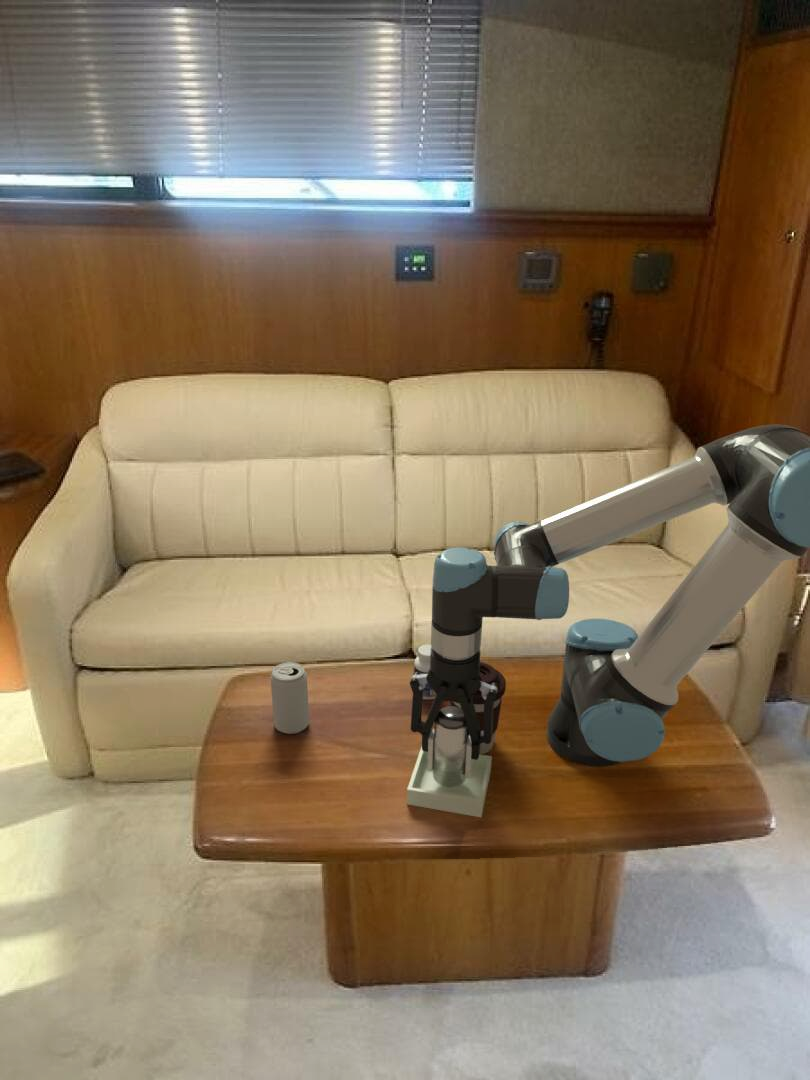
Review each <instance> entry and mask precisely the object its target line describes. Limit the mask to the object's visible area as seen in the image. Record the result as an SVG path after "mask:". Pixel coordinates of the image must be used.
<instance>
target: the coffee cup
mask: <svg viewBox="0 0 810 1080" xmlns="http://www.w3.org/2000/svg"><path fill="white" fill-rule="evenodd" d="M479 674H480V677H481V679H482V682H485V683H487V684H489V685H491V684H492V683H496V684H497V685H498V690H497V694H496V698H495V700H494V712H493V734H492V739H491V743H489V744H485V743H481V744H480V755H486V753H488V752H490V751H491V750H492V749H493V747H494V745H495V740H496V739H495V737H496V732H497V729H498V727H499V721H500V714H501V708H502V707H501V706H502V697H503V696H504V695H505V693H506V684H507V681H506V678H505V676H504V675H503V674H502V673H501V672H500V671H499V670H497V669H496V668H495V667H493V666H492V665H491V664H488V663H486V662H482V661H480V668H479ZM473 703H474V707H475V711H476V715H477V718H478V722H479V726H480V729H481V731H483V728H484V703H485V699H483V697H482V692H481V690H478V691H477V692H476V693H475V694H474V695H473ZM449 706H454V707H459V708H461V706H460V703H456V702H453V701H449Z"/></svg>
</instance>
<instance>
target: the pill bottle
mask: <svg viewBox="0 0 810 1080" xmlns="http://www.w3.org/2000/svg"><path fill="white" fill-rule="evenodd" d="M430 655H431V643H430V644H423V645H421V646H419V647H418V649H417V656H416V658H415V659H414V662H413V663H414V664H413V665H414V666H413V667H414V668H413V673H414V672H419V673H420V674H428V671H429V670H430ZM435 697H436V693H435V692H434V690H433V689H432V688H431V686H430V685H429V683H428V682H427V683H426V685H425V688H424V690H423V700H434V699H435Z"/></svg>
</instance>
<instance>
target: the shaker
mask: <svg viewBox="0 0 810 1080" xmlns="http://www.w3.org/2000/svg"><path fill="white" fill-rule="evenodd" d="M433 729H434V753H433V778H434V780H435V781H436V782H437V783H438V784H440V785H442V786H446V787H456V786H459V785H461V784H462V783H464V781H465V780H466V778H465V768H466V750H467V742H468V740H469V731H468V727H467V724H466V720H465V716H464V713H463V710H462V709H461V708H459V707H454V706H450V705H449V706H444V707H443V708H440V709H439V712H438V714H437V717H436V719H435V722H434V725H433Z"/></svg>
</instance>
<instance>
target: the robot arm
mask: <svg viewBox="0 0 810 1080" xmlns="http://www.w3.org/2000/svg"><path fill="white" fill-rule="evenodd" d="M714 503H715V504H719V505H721V506H727V508H726V513H727V518H728V521H727V525H726V526H725V527H724V529H723V530H722V531H721V532H720V534H719V535H718V536H717V537H716V539H715V540H714V541H713V543H712V544H711V545H710V546H709V547H708V549H706V551H705V553H704V554H703V555H702V556H701V558H700V559H699V560H698V562H697V563H696V564H695V565H694V566H693V568H692V569H691V570H690V572H689V573H688V574H687V575H686V576H685V578H684V579H683V580H682V581H681V583H680V584H679V585H678V586H677V588H675V590H674V592H673V593H672V594H671V595H670V597H668V599H667V600H666V602H665V603H664V604H663V606H661V608H660V609H659V611H658V612H657V613H656V614H655V616H653V618H652V619H651V621H650V622H649V623H648V624H647V626H646V627H645V629H643V631H641V633H640V635H638V633H637V632H636V630H635V629H634V628H632V627H631V626H629V625H627V624H626V623H622V622H620V621H615V620H612V619H608V618H607V619H606V618H587V619H582V620H579V621H576V622H574V623H572V624H571V625H570V627H569V628H568V630H567V635H566V638H565V641H564V643H565V650H564V658H563V668H562V678H561V685H560V686H561V688H560V689H561V690H560V696H559V698H558V700H557V702H556V704H555V706H554V708H553V710H552V711H551V713H550V715H549V717H548V720H547V724H546V738H547V742H548V743H549V745H550V747H551V748H552V749H553V750H554V751H555V753H557V754H558V755H559V756H561V757H563V758H564V759H566V760H568V761H570V762H573V763H574V764H578V765H581V766H582V765H583V766H588V767H595V768H596V767H597V768H603V767H610V766H615V765H618V764H620V763H626V762H628V761H629V762H630V761H634V762H637V761H639V760H643V759H645V758H647V757H649V756H650V755H652V754H653V753H655V752H657V750H658V749H659V748H660V747H661V745H662V744H663V741H664V738H665V729H666V727H665V723H664V721H663V719H664V718H665V717H666V716H667V714H669V712H670V711H671V710H672V709H673V707H674V706H675V705H676V704H677V702H678V701H679V693H678V687H677V686H678V685H679V684H680V683H681V681H682V680H683V678H685V677H686V675H687V674H688V673H689V672H690V671H691V669H692V668H693V667H694V666H695V665H696V664H697V663H698V662H699V660H701V658H702V657H703V655H705V653H706V652H707V651H708V650H709V648H710V647H711V646H712V645H713V644H714V643H715V641H716V640H717V639H718V638H719V636H720V635H721V634H722V633H723V632H724V630H726V628H727V627H728V626H729V625H730V624H731V622H732V621H733V620H734V619H735V618H736V616H737V615H738V614H739V613H740V612H741V611H742V610H743V609H744V607H745V606H746V605H747V604H748V603H749V601H750V600H751V599H753V596H754V595H755V594H756V593H757V592H758V590H759V589H760V588H761V587H762V586H763V585H764V584H765V583H766V581H767V580H768V579H769V578H770V577H771V575H772V574H773V573H774V571H776V569H777V568H778V567H779V566H780V564H781V563H782V562H785V561H789V560H796V559H797V560H798V559H801V558H802V557H803V556H804V555H805V554H806V552H807V551H808V550H809V549H810V434H808V433H806V431H803V430H801V429H800V428H798V427H794V426H790V425H786V424H779V423H778V424H777V423H776V424H765V425H759V426H755V427H750V428H747V429H743V430H740V431H737V432H735V433H732V434H728V435H726V436H724V437H721V438H718V439H715V440H714V441H712V442H708V443H706V444H704V445H701V446H699V447H698V448H697V450H696V452H695V454H694V456H693V457H689V458H688V459H686V460H683V461H680V462H678V463H675V464H673V465H671V466H669V467H666V468H664V469H661V470H659V471H657V472H654V473H651V474H650V475H647V476H644V477H642V478H639V479H637V480H635V481H633V482H629V483H627V484H625V485H623V486H620V487H618V488H616V489H613V490H611V491H609V492H606V493H603V494H602V495H599V496H597V497H594V498H592V499H589V500H587V501H585V502H584V501H583V502H582V503H580V504H577V505H574V506H572V507H569V508H568V509H566V510H563V511H561V512H558V513H555V514H553V515H550V516H549V517H546V518H544V519H541V520H539V521H537V522H534V523H531V524H530V523H527V522H524V521H523V522H522V521H512V522H509V523H507V524H505V525H503V526H501V528H500V529H499V530H498V532H497V533H496V535H495V537H494V543H493V544H494V548H493V549H494V550H493V555H494V560H495V563H496V565H489V564H487V560H486V559H487V558H486V556H485V555H484V554H483V553H482V552H480V551H479V550H477V549H474V548H473V549H470V548H468V547H464V546H461V547H459V546H456V547H450V548H447V549H445V550H443V551H441V552H439V554H437V556H436V557H435V560H434V563H433V574H432V575H433V577H432V583H431V584H432V586H431V587H432V588H431V589H432V590H431V591H432V592H431V593H432V594H431V595H432V596H431V623H430V624H431V627H430V630H431V631H430V645H431V655H430V670H429V671H428V674H420V673H419V672H414V671H413V674H412V676H411V678H410V681H409V685H410V688H411V691H412V700H411V701H412V702H411V703H412V704H411V705H412V706H411V718H410V730H411V732H412V733H419V734H420V735H421V746H422V750H423V751H425V752H428V767H427V771H430V772H432V770H433V753H434V725H435V719H436V717H437V714H438V712H439V711H440V710H441V706H442V705H443V702H450V701H453V702H456V703H460V706H461V709H462V710H463V713H464V716H465V720H466V724H467V727H468V731H469V740H468V742H467V750H466V768H465V778H470V774H471V770H472V762H473V759H475V760H477V759H478V758H479V754H480V744H481V743H485V744H489V743H491V739H492V734H493V712H494V700H495V698H496V694H497V690H498V685H497V684H496V683H492V684H491V685H489V684H487V683H485V682H482V679H481V677H480V674H479V668H480V662H481V647H482V637H483V636H482V635H483V634H482V633H483V618H500V619H501V618H503V619H505V618H506V619H520V620H521V619H522V620H537V621H541V620H554V619H555V620H556V619H561V618H564V616H565V615H566V614H567V612H568V608H569V603H570V580H569V576H568V575H569V574H568V572H567V571H566V570H565V569H564V568H561V567H556V566H558V565H559V564H562V563H565V562H567V561H569V560H572V559H574V558H575V559H576V558H577V557H580V556H582V555H585V554H587V553H590V552H592V551H595V550H597V549H600V548H603V547H605V546H607V545H610V544H612V543H616V542H617V541H620V540H623V539H625V538H627V537H630V536H632V535H635V534H637V533H638V534H639V533H640V532H643V531H646V530H648V529H650V528H653V527H655V526H659V525H660V524H663V523H665V522H669V521H670V520H674V519H676V518H678V517H682V516H685V515H686V514H688V513H691V512H693V511H695V510H699V509H701V508H703V507H706V506H708V505H709V506H710V505H711V504H714ZM427 682H428V683H429V685H430V686H431V688H432V689H433V690H434V692H435V693H436V697H435V699H433V702H432V704H431V708H430V710H429V712H428V714H427V718H426V719H425V721H423V720H422V716H423V715H422V713H423V703H424V699H423V690H424V688H425V685H426V683H427ZM478 690H481V692H482V697H483V699H485V703H484V728H483V731H481V729H480V726H479V722H478V718H477V715H476V711H475V707H474V703H473V695H474V694H475V693H476V692H477V691H478Z"/></svg>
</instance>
